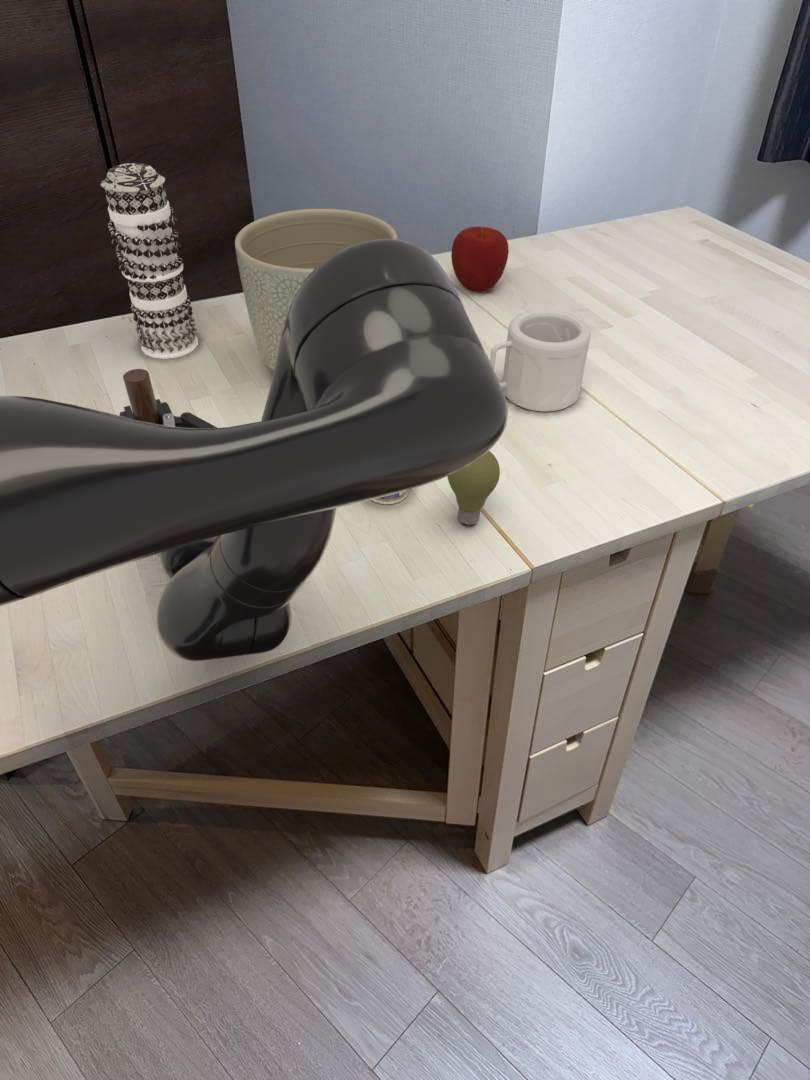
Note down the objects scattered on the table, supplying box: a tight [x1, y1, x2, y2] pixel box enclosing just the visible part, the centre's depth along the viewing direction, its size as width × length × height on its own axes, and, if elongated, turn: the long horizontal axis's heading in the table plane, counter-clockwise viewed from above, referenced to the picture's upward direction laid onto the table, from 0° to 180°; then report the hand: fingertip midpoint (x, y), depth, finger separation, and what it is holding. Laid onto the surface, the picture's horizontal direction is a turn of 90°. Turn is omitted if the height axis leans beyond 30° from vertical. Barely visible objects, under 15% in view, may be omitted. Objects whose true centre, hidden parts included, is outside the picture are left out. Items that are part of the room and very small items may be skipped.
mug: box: [489, 309, 592, 412], centre depth 100 cm, size 14×11×10 cm
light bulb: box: [446, 450, 501, 526], centre depth 80 cm, size 6×6×10 cm
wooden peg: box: [122, 368, 162, 425], centre depth 82 cm, size 4×7×14 cm, turn 116°
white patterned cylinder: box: [100, 162, 199, 360], centre depth 104 cm, size 9×9×25 cm
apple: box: [450, 226, 510, 293], centre depth 125 cm, size 10×10×10 cm
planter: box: [234, 208, 399, 372], centre depth 102 cm, size 21×21×19 cm
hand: (143, 410), depth 83 cm, fingers closed on wooden peg, 2 cm apart
